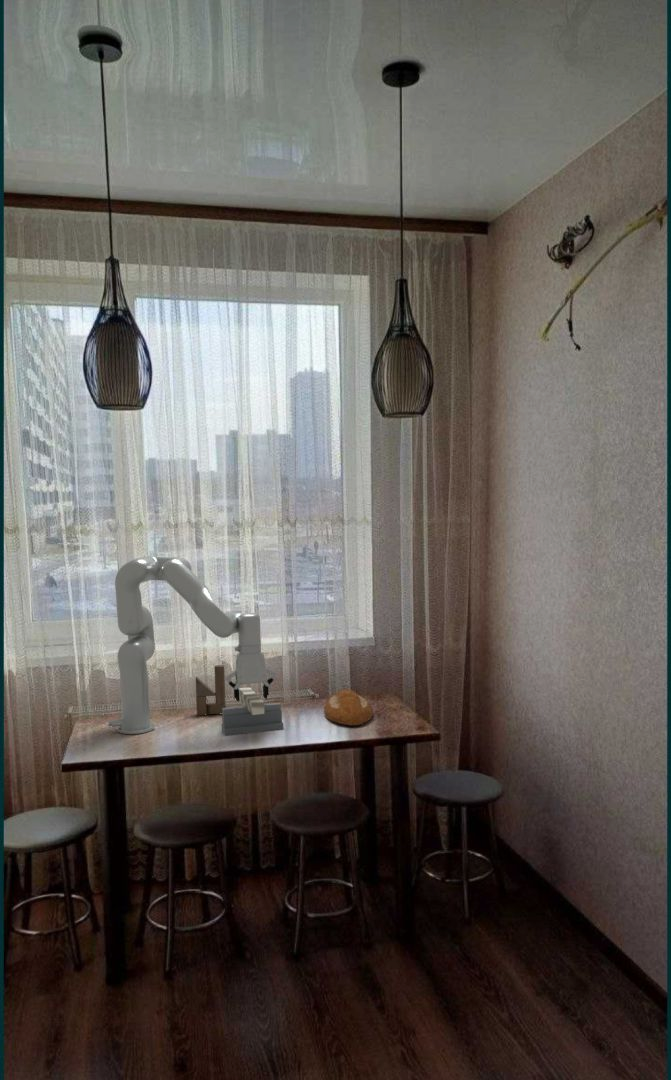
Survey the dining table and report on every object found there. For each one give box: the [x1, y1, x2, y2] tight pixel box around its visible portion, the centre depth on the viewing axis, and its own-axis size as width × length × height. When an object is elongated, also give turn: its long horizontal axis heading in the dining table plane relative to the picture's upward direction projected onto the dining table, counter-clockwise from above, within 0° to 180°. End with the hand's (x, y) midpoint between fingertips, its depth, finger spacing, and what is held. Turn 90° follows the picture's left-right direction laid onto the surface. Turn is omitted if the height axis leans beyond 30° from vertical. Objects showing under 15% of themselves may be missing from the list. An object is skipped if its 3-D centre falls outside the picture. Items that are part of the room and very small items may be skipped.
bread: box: [323, 688, 374, 727], centre depth 307 cm, size 18×35×9 cm, turn 5°
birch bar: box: [238, 686, 265, 715], centre depth 291 cm, size 24×4×4 cm, turn 17°
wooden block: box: [195, 664, 227, 716], centre depth 314 cm, size 4×11×18 cm, turn 98°
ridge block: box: [221, 702, 284, 736], centre depth 291 cm, size 20×8×8 cm, turn 107°
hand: (251, 698), depth 291 cm, fingers open, 9 cm apart
